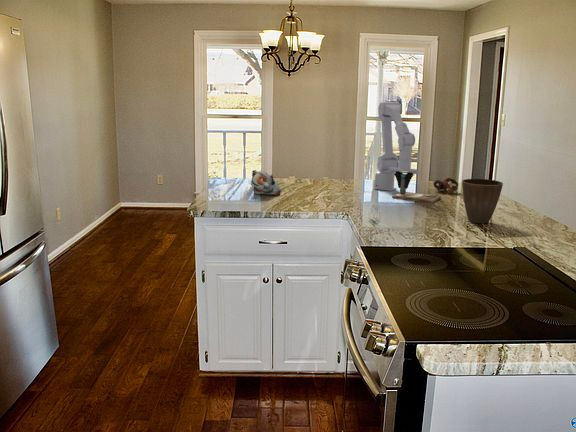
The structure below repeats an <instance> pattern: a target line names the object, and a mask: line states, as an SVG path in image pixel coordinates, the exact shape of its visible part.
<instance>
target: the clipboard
mask: <svg viewBox="0 0 576 432" xmlns="http://www.w3.org/2000/svg"><path fill="white" fill-rule="evenodd" d="M441 198H442V196H441V195H435V194H430V193H429V194H425V193H419V192H418V193H417V192H408V191H406V194H400V192H398V193H396V194H394V195H392V199H397V200H406V201H413V202H422V203H429V204H433V203H434V202H437V201H438V200H440V199H441Z"/></svg>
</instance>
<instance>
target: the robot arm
mask: <svg viewBox="0 0 576 432" xmlns="http://www.w3.org/2000/svg"><path fill="white" fill-rule="evenodd" d="M377 110H378V113H377V114H378V119H379V120H380V122H381V123H380V124H381V138H382V153H381V154H380V155H379V156H378V157H377V164H376V168H377V170H378V171H376V172H375V175H374V187H373V189H374V190H379V191H389V192H392V191H395V190H396V189H397V187H398V189H400V182H401V174H405V177H406V183H405V189H406V190H407V189H409V185H410V182H411V180H412V178H413V176H414V175H420V173H421V171H420V169H415V168H412V157H413V156H412V154H413V146H415V144H416V137H415V134H414V133H412V132H410V130H409V127H408V125H407V123H406V122H404V121H403V118H402V114H401V110H402V105H401V103H400V101H383V100H382V101H380V102H379V104H378V109H377ZM392 121H393V122H392ZM392 123H394V124H395V126H394V130H395V133H396V135H397V137H398V138H397V143H398V150H399V153H398V154H399V155H397V154H396V153H394V148H393V147H394V146H393V129H392V127H393V126H392V125H393V124H392ZM395 179H396V182H397V187H395Z"/></svg>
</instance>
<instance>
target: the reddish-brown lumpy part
mask: <svg viewBox="0 0 576 432" xmlns="http://www.w3.org/2000/svg"><path fill="white" fill-rule="evenodd" d="M450 182H451V183H450ZM437 184H438V185H437ZM451 184H453V185H451ZM458 186H459V183H458V181H457V180H456V179H453V178H451V177H445V179H442V180H439V179H436V180H434V181H433V187H434V188H435V189H436V190H437V192H439V191H442V190H443V191H446V193H447V194H448V195H449V194H451V193H453V192H457V190H458V189H459V187H458Z"/></svg>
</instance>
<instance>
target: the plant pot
mask: <svg viewBox="0 0 576 432" xmlns="http://www.w3.org/2000/svg"><path fill="white" fill-rule="evenodd" d="M503 185H504V183H503V182H502V181H500V180H495V179H494V180H493V179H487V178H466V179H465V178H464V179H462V180H461V186H462V197H463V203H464V208H465V209H464V210H465V213H466V217H467V219H468V222H469V221H470V223H471V222H473V223H472V224H475V223H487V224H489V223H488V222H490V221H491V219H492V217H493V215H494V212H495V210H496V209H497V206H498V202H499V200H500V196H501V194H502V189H503Z"/></svg>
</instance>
